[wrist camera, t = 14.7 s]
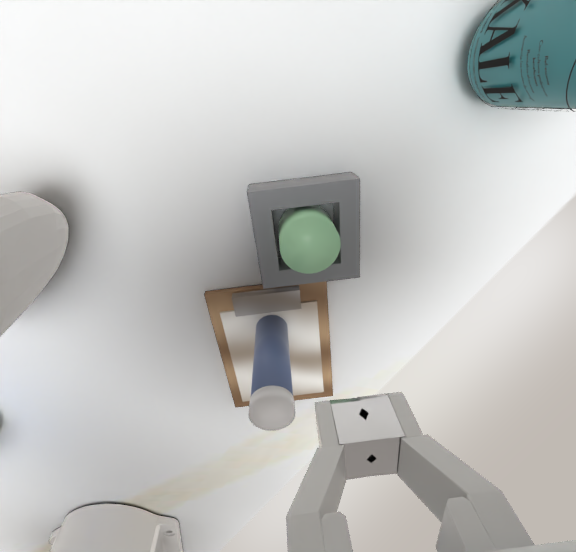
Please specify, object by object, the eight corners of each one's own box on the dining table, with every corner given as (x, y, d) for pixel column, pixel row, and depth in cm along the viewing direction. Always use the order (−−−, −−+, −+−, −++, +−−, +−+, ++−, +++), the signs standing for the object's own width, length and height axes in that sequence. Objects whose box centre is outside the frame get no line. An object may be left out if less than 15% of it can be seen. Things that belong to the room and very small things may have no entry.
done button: (332, 249, 27) (341, 269, 24) (281, 256, 27) (283, 276, 24) (330, 199, 25) (339, 213, 22) (275, 206, 25) (276, 221, 22)
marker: (289, 339, 31) (297, 427, 22) (257, 343, 31) (252, 432, 22) (286, 312, 30) (292, 394, 21) (253, 316, 30) (244, 400, 21)
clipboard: (331, 391, 36) (334, 401, 35) (235, 403, 36) (234, 413, 35) (325, 276, 29) (327, 284, 28) (205, 291, 29) (202, 299, 28)
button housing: (352, 263, 28) (359, 277, 26) (263, 274, 28) (263, 288, 26) (351, 171, 25) (359, 178, 22) (248, 184, 25) (247, 192, 22)
